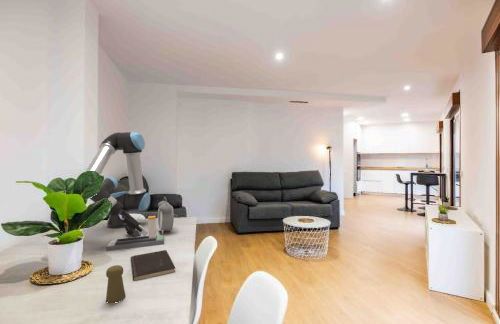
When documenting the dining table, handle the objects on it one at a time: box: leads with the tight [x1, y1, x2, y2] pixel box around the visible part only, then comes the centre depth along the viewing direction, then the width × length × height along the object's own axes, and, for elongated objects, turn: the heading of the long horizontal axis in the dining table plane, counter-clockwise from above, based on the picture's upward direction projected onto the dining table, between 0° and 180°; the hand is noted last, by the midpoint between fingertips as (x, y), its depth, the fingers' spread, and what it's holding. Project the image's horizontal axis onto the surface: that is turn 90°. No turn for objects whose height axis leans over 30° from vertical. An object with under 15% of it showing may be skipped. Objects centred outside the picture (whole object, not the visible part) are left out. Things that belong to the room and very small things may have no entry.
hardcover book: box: [130, 249, 176, 282], centre depth 114 cm, size 16×23×2 cm
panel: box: [105, 234, 165, 252], centre depth 141 cm, size 10×28×3 cm, turn 108°
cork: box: [105, 264, 126, 304], centre depth 87 cm, size 6×6×11 cm
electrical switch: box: [124, 224, 142, 237], centre depth 157 cm, size 9×5×9 cm, turn 57°
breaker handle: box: [147, 215, 157, 239], centre depth 143 cm, size 4×4×12 cm
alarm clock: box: [157, 196, 175, 235], centre depth 164 cm, size 16×9×22 cm, turn 27°
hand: (146, 234), depth 142 cm, fingers closed
